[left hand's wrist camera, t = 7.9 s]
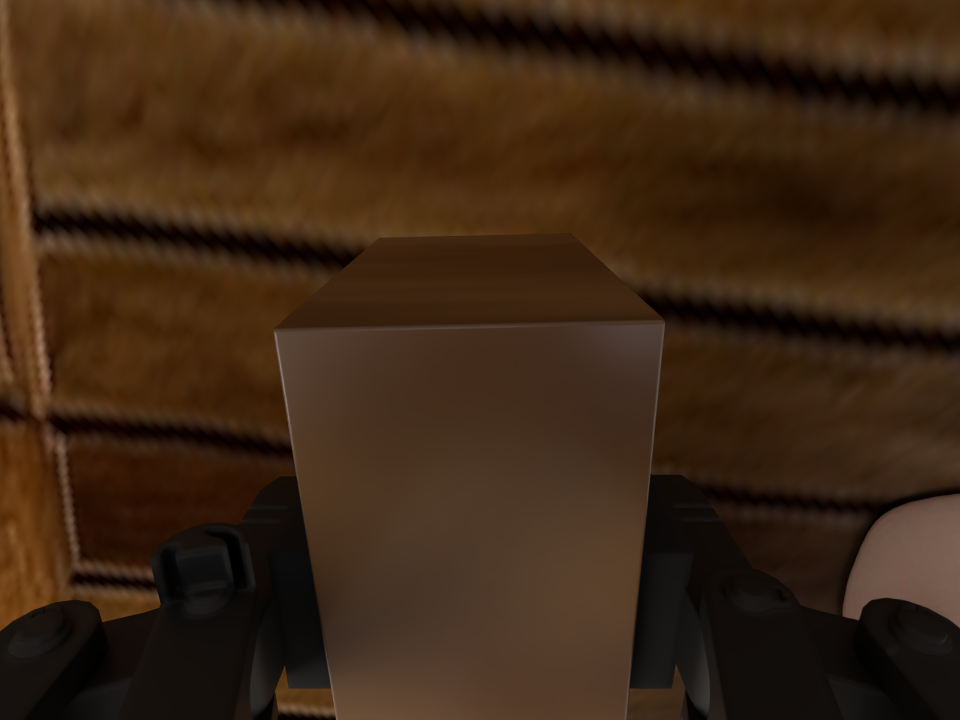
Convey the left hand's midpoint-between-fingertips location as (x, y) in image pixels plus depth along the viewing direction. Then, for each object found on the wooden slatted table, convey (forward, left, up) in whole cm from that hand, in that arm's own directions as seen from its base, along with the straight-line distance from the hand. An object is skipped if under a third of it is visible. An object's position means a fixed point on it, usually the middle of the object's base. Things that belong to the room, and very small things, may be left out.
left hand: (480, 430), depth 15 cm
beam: (-2, +19, -1) cm, 19 cm away
